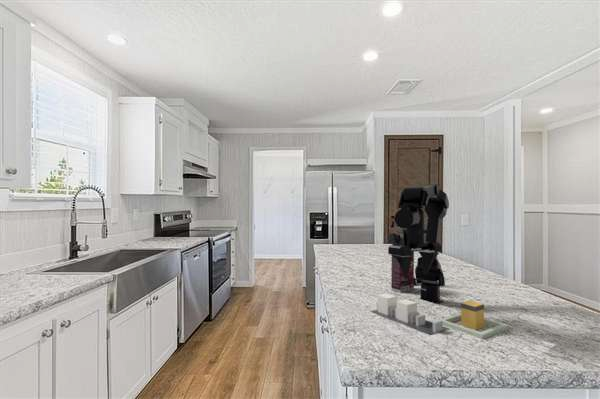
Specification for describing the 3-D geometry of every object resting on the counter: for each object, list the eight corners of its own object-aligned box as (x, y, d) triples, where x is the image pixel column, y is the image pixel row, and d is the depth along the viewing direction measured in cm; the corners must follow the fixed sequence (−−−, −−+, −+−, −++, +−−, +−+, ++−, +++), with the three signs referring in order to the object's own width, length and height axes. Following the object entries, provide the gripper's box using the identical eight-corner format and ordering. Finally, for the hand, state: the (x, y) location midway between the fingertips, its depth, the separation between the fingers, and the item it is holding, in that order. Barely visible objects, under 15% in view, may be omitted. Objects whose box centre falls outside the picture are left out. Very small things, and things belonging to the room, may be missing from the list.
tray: (464, 320, 99) (464, 311, 99) (508, 334, 88) (508, 324, 88) (438, 328, 92) (438, 319, 92) (482, 344, 82) (482, 334, 82)
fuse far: (387, 309, 105) (387, 293, 105) (396, 312, 101) (396, 296, 101) (378, 311, 103) (377, 295, 103) (387, 315, 99) (387, 298, 99)
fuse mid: (406, 316, 98) (405, 299, 98) (417, 320, 95) (416, 302, 95) (396, 318, 96) (396, 301, 96) (407, 322, 93) (407, 305, 93)
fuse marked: (469, 325, 93) (469, 300, 93) (484, 330, 89) (484, 304, 89) (461, 328, 91) (460, 302, 91) (475, 333, 87) (475, 306, 87)
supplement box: (400, 292, 129) (400, 252, 129) (390, 290, 133) (390, 250, 133) (414, 289, 134) (414, 250, 134) (405, 287, 138) (404, 248, 138)
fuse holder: (388, 311, 107) (388, 299, 107) (449, 334, 88) (449, 319, 88) (369, 316, 103) (369, 303, 103) (430, 341, 84) (430, 325, 84)
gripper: (414, 224, 117) (414, 268, 117) (375, 226, 107) (375, 274, 107) (442, 225, 107) (442, 273, 107) (402, 228, 98) (402, 281, 98)
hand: (415, 275), depth 105 cm, fingers open, 9 cm apart
